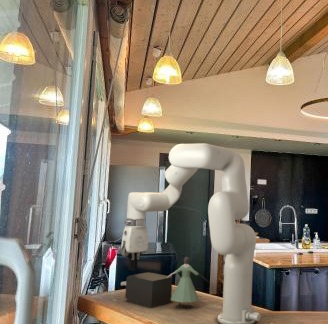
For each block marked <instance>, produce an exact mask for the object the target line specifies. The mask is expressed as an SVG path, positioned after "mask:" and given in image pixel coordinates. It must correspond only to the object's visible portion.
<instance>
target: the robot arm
mask: <svg viewBox="0 0 328 324" xmlns="http://www.w3.org/2000/svg"><path fill="white" fill-rule="evenodd" d="M168 161H169V163H170V165H169V166H168V168H167V169H165V171H164V178H165V180H166V181H167V183H168V184H169V185H167V187H166V188H165V189H164V190H163V191H162V192H153V191H152V192H151V191H150V192H149V191H146V192H144V191H143V192H139V191H138V192H137V191H131V192H129V193H128V195H127V205H126V220H124V224H125V226H124V228H123V231H122V237H121V244H120V246H121V247H120V249H121V256H123V257H126V258H127V260H128V270H129V271H133V272H134V271H137V270H138V260H140V258H141V256H142V255H144V254H146V252H147V251H148V248H149V231H148V226H146V224H147V223H146V222H147V213H151V212H152V213H153V212H166V211H167V210H169V209H170V208H171V207H173V205H175V203H176V202H177V201H178V200H179V199H180V197H181V194H182V191H183V186H184V184H186V183H187V182H188V180H190V179H191V178H192V176H193V175H195V173H196V172H197V171H198V170H200V169H206V170H211V171H212V170H213V171H221V172H222V175H221V180H220V181H221V191H217V192H215V193H214V194H213V195H212V196H211V197H210V199H209V202H208V206H207V215H208V227H209V237H210V242H211V246H212V248H213V250H214V251H215V253H217V254H218V255H221V256H225V260H224V268H223V288H222V311H221V313H219V314H218V315H217V317H216V318H217V322H218V323H220V324H254V323H255V322H259V321H260V319H261V313H260V312H256V311H255V306H252V297H253V296H252V294H253V274H254V273H253V272H254V271H253V270H254V258H255V257H254V256H255V249H256V245H257V235H256V232H255V230H254V229H253V228H252V226H250V225H248V224H246V223H236V220H237V221H238V220H242V219H244V218H246V217H247V216H248V213H249V209H250V206H249V205H250V204H249V196H248V186H247V181H246V180H247V179H246V167H245V161H244V159H243V157H242V155H241V154H240V153H239V152H237V151H236V150H233V149H231V148H227V147H223V146H219V145H214V144H210V143H203V142H202V143H179V144H175V145H174V146H173V147H172V148H171V149H170V150H169V154H168Z"/></svg>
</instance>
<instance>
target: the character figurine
mask: <svg viewBox="0 0 328 324" xmlns="http://www.w3.org/2000/svg"><path fill="white" fill-rule="evenodd" d="M190 260H191V259H190V258H189V257H188V256H185V257H184V259H183V263H184V264H181V266H179V267H178V268H177V269H176V270H174V272H172V273H170V274H169V275H167V276H168V277H169V276H170V277H173V275H177V274H179V273H180V272H181V277H180V279H179V280H178V284H177V285H176V287H175V289H174V291H173V293H172V294H171V302H172V301H173V302H177V303H178V306H177V307H178V309H182V307H183V305H182V303H186V309H190V308H191V303H192V302H193V303H194V302H197V301H199V300H200V298H199V295H198V293H197V291H196V288H195V286H194V282H193V280H192V278H191V273H192V274H194V275H195V276H197V277H201V278H202V280H204V281H206V282H207V283H208V284H210V281H209V280H208V279H207V278H206V277H205V276H204V275H202V274H200V273H199V272H198V271H196V270H195V269H194V268H193V266H191V264H189V263H190ZM168 277H167V278H168Z"/></svg>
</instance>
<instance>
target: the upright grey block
mask: <svg viewBox="0 0 328 324" xmlns="http://www.w3.org/2000/svg"><path fill="white" fill-rule="evenodd" d="M168 276H169V275H164V274H159V273H154V272H149V271H148V272H143V273H135V274H130V275H128V276H127V277H128V290H127V298H126V302H128V303H131V304H136V305H140V306H143V307H147V308H151V309H152V308H156V307H158V306H159V307H160V306H162V305H166V304H170V303H172V300H171V297H172V294H173V293H172V289H173V276H169V277H168ZM167 277H168V278H167Z"/></svg>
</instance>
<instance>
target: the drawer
mask: <svg viewBox="0 0 328 324" xmlns="http://www.w3.org/2000/svg"><path fill="white" fill-rule="evenodd" d="M120 286H122V287H123V286H125V295H124V296H125V299H127V290H128V276H126V281H121V282H120Z"/></svg>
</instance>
